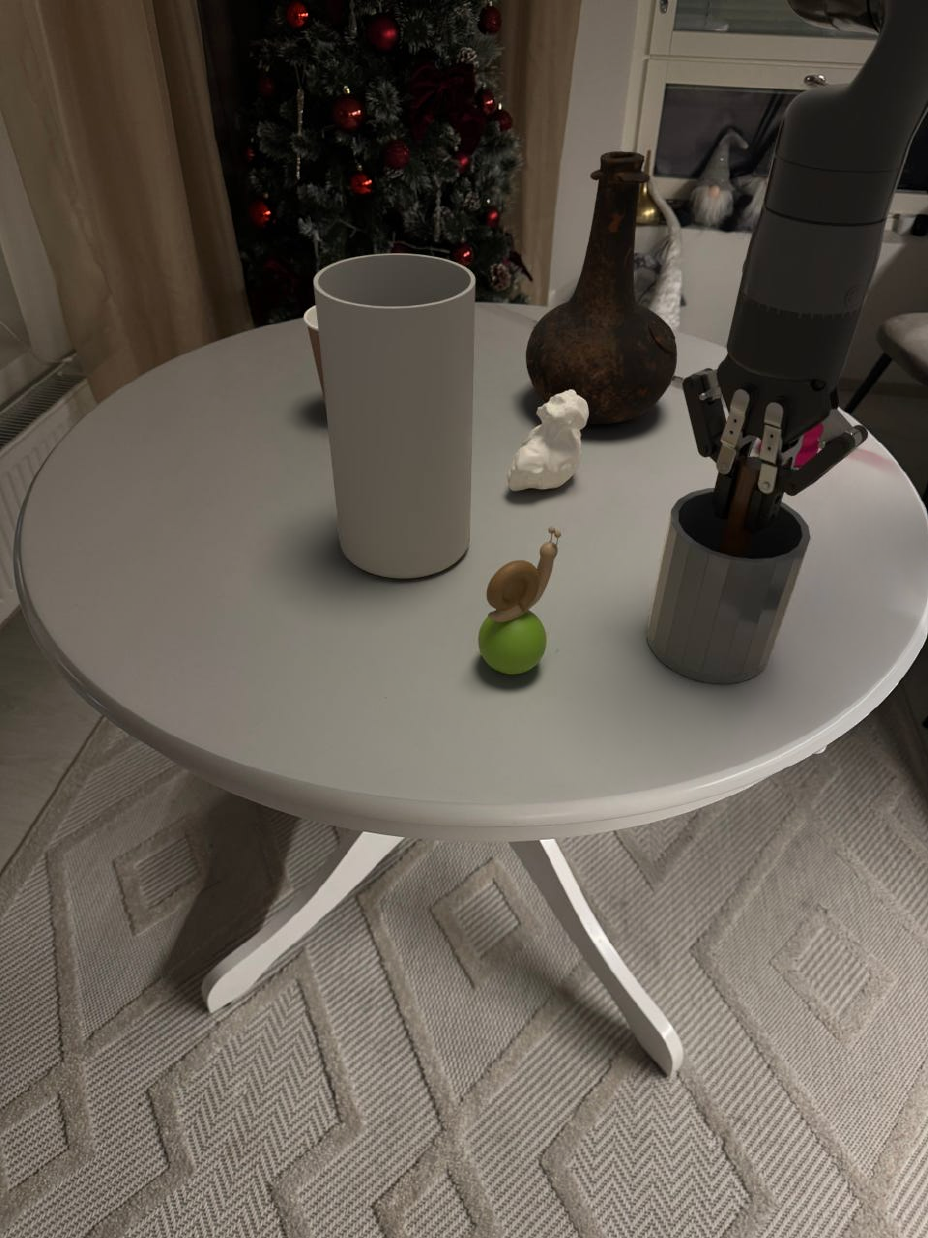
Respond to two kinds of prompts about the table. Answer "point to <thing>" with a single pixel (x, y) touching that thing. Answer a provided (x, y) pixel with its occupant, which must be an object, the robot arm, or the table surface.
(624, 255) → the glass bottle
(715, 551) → the grey pencil holder
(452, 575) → the table surface
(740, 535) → the brush
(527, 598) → the snail figurine
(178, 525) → the table surface
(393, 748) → the table surface
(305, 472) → the table surface
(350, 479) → the cylinder vase
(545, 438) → the bust
